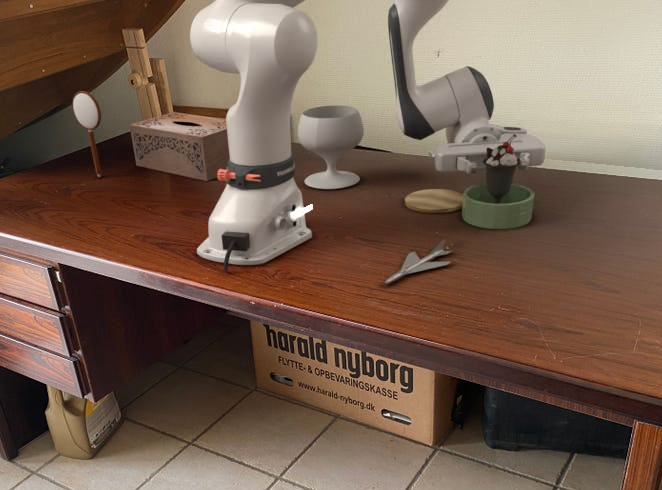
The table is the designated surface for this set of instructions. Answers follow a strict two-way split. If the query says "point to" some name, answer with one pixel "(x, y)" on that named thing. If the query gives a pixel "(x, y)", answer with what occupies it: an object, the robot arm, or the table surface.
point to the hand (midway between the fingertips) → (498, 167)
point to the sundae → (500, 169)
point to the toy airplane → (420, 263)
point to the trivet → (434, 201)
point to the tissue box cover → (182, 145)
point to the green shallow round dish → (497, 207)
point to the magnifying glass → (88, 119)
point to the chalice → (331, 141)
